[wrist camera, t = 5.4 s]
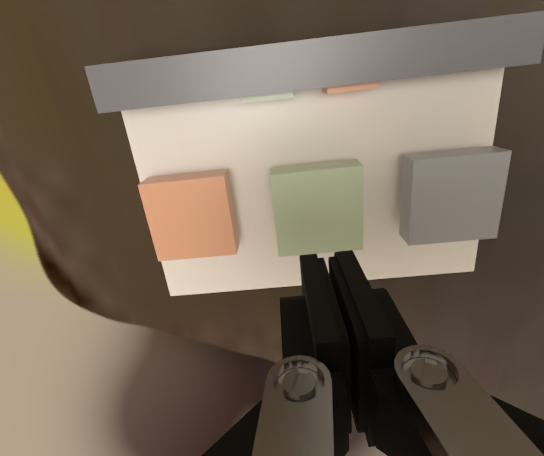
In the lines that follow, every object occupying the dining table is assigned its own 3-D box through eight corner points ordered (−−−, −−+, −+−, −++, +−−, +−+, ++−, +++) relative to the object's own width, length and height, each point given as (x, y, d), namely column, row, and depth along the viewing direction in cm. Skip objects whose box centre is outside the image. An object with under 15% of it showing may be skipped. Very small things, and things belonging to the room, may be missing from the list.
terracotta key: (227, 169, 19) (223, 176, 17) (239, 243, 21) (236, 254, 19) (147, 177, 19) (137, 184, 18) (166, 249, 21) (158, 261, 19)
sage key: (356, 159, 18) (363, 165, 16) (357, 237, 20) (363, 249, 18) (270, 168, 18) (269, 175, 17) (278, 244, 20) (278, 257, 18)
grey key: (493, 145, 17) (511, 150, 16) (480, 226, 19) (496, 238, 18) (402, 154, 18) (413, 160, 16) (399, 234, 19) (408, 245, 18)
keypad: (482, 28, 18) (550, 9, 14) (454, 253, 24) (497, 293, 19) (129, 70, 20) (84, 66, 15) (180, 276, 25) (158, 319, 20)
